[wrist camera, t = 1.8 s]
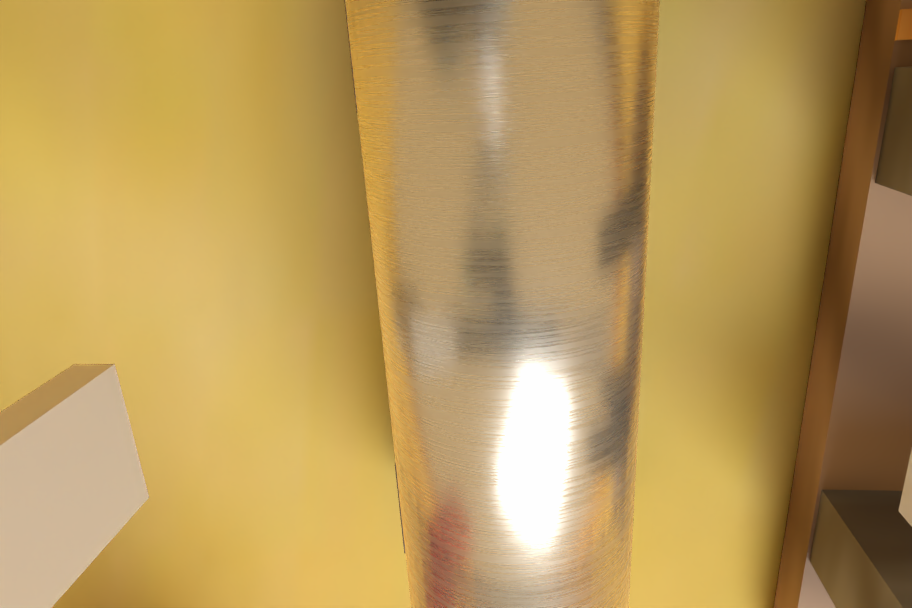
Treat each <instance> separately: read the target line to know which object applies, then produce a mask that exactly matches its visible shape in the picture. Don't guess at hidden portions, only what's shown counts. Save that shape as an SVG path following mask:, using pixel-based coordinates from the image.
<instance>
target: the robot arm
mask: <svg viewBox="0 0 912 608" xmlns="http://www.w3.org/2000/svg"><path fill="white" fill-rule="evenodd" d="M148 498H149V495H148V491H147V487H146V483H145V479H144V475H143V472H142V468H141V464H140V460H139V456H138V452H137V448H136V445H135V441H134V437H133V433H132V429H131V425H130V422H129V418H128V414H127V410H126V406H125V402H124V398H123V395H122V391H121V387H120V383H119V379H118V375H117V371H116V368H115V364H74V365H72V366H71V367H69V368H68V369H66V370H64V371H63V372H61V373H60V374H58V375H57V376H55V377H54V378H52V379H51V380H49V381H47V382H46V383H44V384H43V385H41V386H40V387H38V388H37V389H35V390H34V391H32V392H31V393H29V394H27V395H26V396H24V397H23V398H21V399H20V400H18V401H17V402H15V403H14V404H12V405H10V406H9V407H7V408H6V409H4V410H3V411H1V412H0V608H52V607H53V606H54V604H55V603H56V602H57V601H58V600H59V599H60V598H61V596H62V595H63V594H64V593H65V592H66V591H67V590H68V589H69V587H70V586H71V585H72V584H73V583H74V582H75V581H76V579H77V578H78V577H79V576H80V575H81V574H82V573H83V572H84V570H85V569H86V568H87V567H88V566H89V565H90V564H91V563H92V561H93V560H94V559H95V558H96V557H97V556H98V555H99V553H100V552H101V551H102V550H103V549H104V548H105V547H106V546H107V544H108V543H109V542H110V541H111V540H112V539H113V538H114V537H115V535H116V534H117V533H118V532H119V531H120V530H121V529H122V527H123V526H124V525H125V524H126V523H127V522H128V521H129V520H130V518H131V517H132V516H133V515H134V514H135V513H136V512H137V511H138V509H139V508H140V507H141V506H142V505H143V504H144V503H145V501H146V500H147V499H148ZM898 511H899V512H900V513H901V515H902V516H903V517H904V518H905V519H906V521H907V522H908V523H909V524H910V525H911V526H912V449H911V454H910V459H909V463H908V468H907V473H906V478H905V482H904V487H903V492H902V496H901V501H900V506H899V510H898Z"/></svg>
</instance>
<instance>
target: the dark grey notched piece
mask: <svg viewBox="0 0 912 608" xmlns="http://www.w3.org/2000/svg"><path fill="white" fill-rule="evenodd" d="M911 449H912V0H867V2H866V9H865V15H864V22H863V28H862V35H861V41H860V48H859V54H858V61H857V67H856V74H855V80H854V87H853V93H852V100H851V107H850V113H849V120H848V126H847V133H846V139H845V146H844V152H843V159H842V165H841V172H840V178H839V185H838V191H837V198H836V204H835V211H834V217H833V224H832V230H831V237H830V243H829V250H828V256H827V263H826V269H825V276H824V283H823V289H822V296H821V302H820V309H819V315H818V322H817V328H816V335H815V341H814V348H813V354H812V361H811V367H810V374H809V380H808V387H807V393H806V400H805V406H804V413H803V419H802V426H801V432H800V439H799V446H798V452H797V459H796V465H795V472H794V478H793V485H792V491H791V498H790V504H789V511H788V517H787V524H786V530H785V537H784V543H783V550H782V556H781V563H780V569H779V576H778V582H777V589H776V595H775V602H774V608H912V526H911V525H910V524H909V523H908V522H907V521H906V519H905V518H904V517H903V516H902V515H901V513H900V512H899V511H898V510H899V506H900V501H901V496H902V492H903V487H904V482H905V478H906V473H907V468H908V463H909V459H910V454H911Z"/></svg>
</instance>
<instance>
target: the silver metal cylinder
mask: <svg viewBox="0 0 912 608" xmlns="http://www.w3.org/2000/svg"><path fill="white" fill-rule="evenodd" d="M345 4H346V13H347V22H348V32H349V41H350V50H351V59H352V68H353V77H354V87H355V96H356V105H357V114H358V123H359V132H360V141H361V151H362V160H363V169H364V178H365V187H366V196H367V206H368V215H369V224H370V233H371V242H372V251H373V261H374V270H375V279H376V288H377V297H378V306H379V315H380V325H381V334H382V343H383V352H384V361H385V370H386V380H387V389H388V398H389V407H390V416H391V425H392V435H393V444H394V453H395V462H396V471H397V480H398V489H399V499H400V508H401V517H402V526H403V535H404V544H405V554H406V563H407V572H408V581H409V590H410V599H411V608H629V589H630V570H631V551H632V531H633V512H634V492H635V473H636V453H637V434H638V414H639V395H640V375H641V356H642V336H643V317H644V298H645V278H646V259H647V239H648V220H649V200H650V181H651V161H652V142H653V122H654V103H655V83H656V64H657V45H658V25H659V6H660V0H345Z"/></svg>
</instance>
